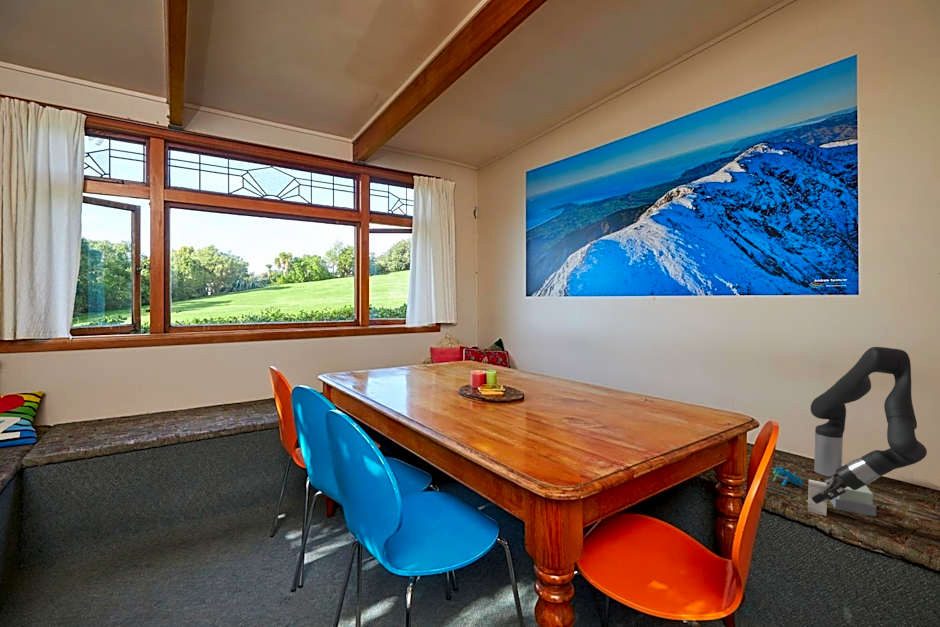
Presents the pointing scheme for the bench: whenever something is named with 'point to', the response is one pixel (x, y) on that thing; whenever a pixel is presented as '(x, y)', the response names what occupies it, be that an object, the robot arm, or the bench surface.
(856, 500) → the tower top
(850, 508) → the tower base
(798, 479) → the blue toy dinosaur
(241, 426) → the bench surface
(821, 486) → the cream block
